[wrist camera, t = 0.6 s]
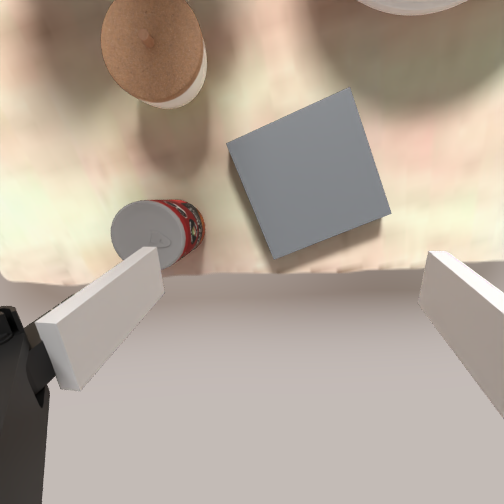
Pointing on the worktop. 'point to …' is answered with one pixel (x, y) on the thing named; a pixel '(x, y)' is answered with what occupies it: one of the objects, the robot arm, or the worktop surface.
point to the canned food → (158, 229)
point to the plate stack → (411, 6)
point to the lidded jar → (155, 50)
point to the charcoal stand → (310, 174)
